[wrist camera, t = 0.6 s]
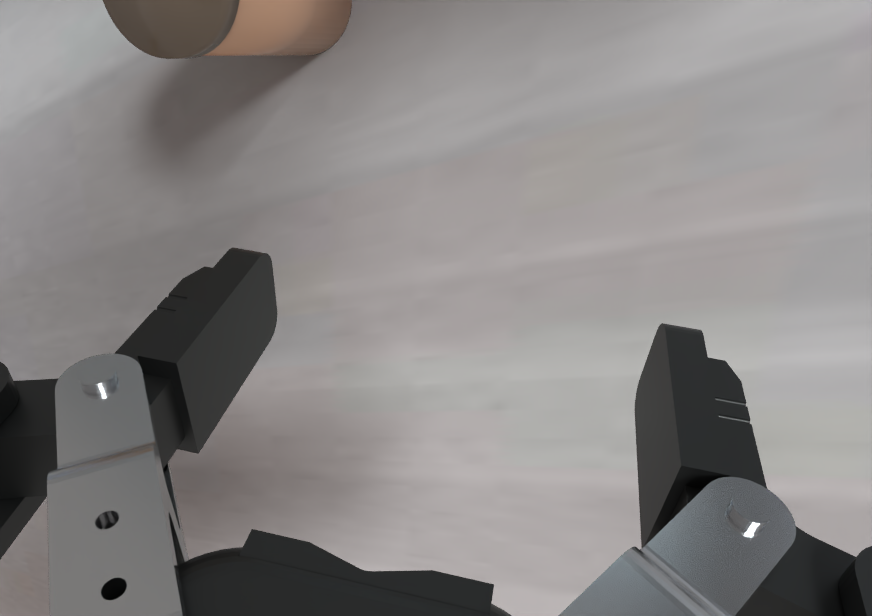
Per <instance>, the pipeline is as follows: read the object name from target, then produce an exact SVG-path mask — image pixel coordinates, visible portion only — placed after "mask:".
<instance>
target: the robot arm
mask: <svg viewBox="0 0 872 616" xmlns="http://www.w3.org/2000/svg"><path fill="white" fill-rule="evenodd" d="M276 322H277V306H276V296H275V287H274V277H273V268H272V261H271V258H270V256H269V255H268V254H267V253H261V252H255V251H250V250H244V249H238V248H231V249H229V250H228V251H227V253H226V254H225V255H224V256H223V257H222V258H221V259H220V261H219V262H218V263H217V264H216V265H215V266H214V268H210V267H203V268H201V269H199V270H198V271H196V272H194V273H192V274H190V275H189V276H187V277H185V278H183V279H182V280H181V281H180V282H179V283H178V285H177V286H176V287H175V288H174V289H173V290H172V291H171V292H170V293H169V297H166V298H165V299H164V300H163V301H162V302H161V303H160V304H159V305H158V306H157V310H154V311H153V312H152V313H151V314H150V315H149V316H148V317H147V319H146V320H145V321H144V322H143V323H142V324H141V325H140V326H139V327H138V328H137V329H136V331H135V332H134V333H133V334H132V335H131V336H130V337H129V338H128V339H127V340H126V342H125V343H124V344H123V345H122V346H121V347H120V348H119V349H118V350H117V351H116V352H115V354H102V355H96V356H93V357H89V358H87V359H84V360H82V361H80V362H78V363H76V364H74V365H73V366H71V367H70V368H68V369H67V370H66V371H65V372H64V373H63V374H62V375H61V376H60V378H59V379H45V380H25V381H13V379H12V377H11V375H10V373H9V370H8V368H7V367H6V366H5V365H4V364H3V363H1V362H0V559H1V558H2V556H3V555H4V554H5V552H6V551H7V549H8V548H9V547H10V545H11V544H12V543H13V541H14V540H15V539H16V537H17V536H18V535H19V533H20V532H21V531H22V529H23V528H24V527H25V525H26V524H27V523H28V521H29V520H30V518H31V517H32V516H33V514H34V513H35V512H36V510H37V509H38V508H39V506H40V505H41V504H42V502H43V501H44V500H45V498H46V497H47V509H48V559H49V609H50V616H511V615H510V614H508V613H507V612H505V611H504V610H502V609H500V608H498V607H497V606H495V605H493V604H491V601H492V594H493V587H494V584H489V583H485V582H481V581H476V580H472V579H468V578H463V577H459V576H454V575H450V574H446V573H441V572H437V571H433V570H430V571H375V572H372V571H364V570H362V569H359V568H357V567H355V566H353V565H352V564H350V563H348V562H346V561H344V560H342V559H340V558H338V557H336V556H334V555H333V554H331V553H329V552H327V551H325V550H323V549H321V548H319V547H317V546H315V545H314V544H312V543H310V542H306V541H301V540H297V539H293V538H288V537H284V536H280V535H275V534H271V533H266V532H262V531H258V530H253V529H252V530H251V532H250V534H249V536H248V538H247V540H246V542H245V544H244V546H243V548H230V549H223V550H218V551H214V552H210V553H206V554H203V555H201V556H198V557H195V558H192V559H190V560H189V558H188V554H187V549H186V545H185V540H184V535H183V530H182V525H181V520H180V515H179V510H178V505H177V500H176V495H175V490H174V484H173V479H172V474H171V469H170V466H169V462H168V461H169V460H170V459H171V457H172V456H173V454H174V453H175V451H176V450H177V449H180V450H184V451H189V452H194V453H199V452H200V450H201V449H202V447H203V445H204V444H205V442H206V441H207V439H208V438H209V436H210V435H211V433H212V431H213V430H214V428H215V427H216V425H217V424H218V422H219V420H220V419H221V417H222V416H223V414H224V413H225V411H226V409H227V408H228V406H229V405H230V403H231V402H232V400H233V398H234V397H235V395H236V394H237V392H238V391H239V389H240V387H241V386H242V384H243V383H244V381H245V380H246V378H247V377H248V375H249V373H250V372H251V370H252V369H253V367H254V366H255V364H256V362H257V361H258V359H259V358H260V356H261V355H262V353H263V351H264V350H265V348H266V347H267V345H268V344H269V342H270V340H271V339H272V336H273V334H274V331H275V327H276ZM635 425H636V444H637V464H638V484H639V504H640V524H641V544H642V549H640V550H639V549H638V548H637V547H632V548H630V549H629V550H627V551H626V552H625V553H624V554H623V555H621V556H620V557H619V558H618V559H617V560H616V561H615V562H614V563H613V564H612V565H611V566H610V567H609V568H608V569H607V570H606V571H605V572H604V573H603V574H602V575H601V576H599V577H598V578H597V579H596V580H595V581H594V582H593V583H592V584H591V585H590V586H589V587H588V588H587V589H586V590H585V591H584V592H583V593H582V594H581V595H580V596H579V597H578V598H577V599H575V600H574V601H573V602H572V603H571V604H570V605H569V606H568V607H567V608H566V609H565V610H564V611H563V612H562V613H561V614H560V615H559V616H872V546H871V547H868V548H865V549H864V550H863V551H861V552H860V553H859V555H858V556H857V557H855V556H853V555H850V554H848V553H846V552H844V551H842V550H840V549H838V548H835V547H833V546H831V545H829V544H827V543H825V542H823V541H820V540H818V539H816V538H814V537H812V536H810V535H809V534H807V533H805V532H804V531H802V530H801V529H799V528H798V527H796V526H795V521H794V519H793V517H792V514H791V513H790V511H789V510H788V508H787V507H786V505H785V504H784V503H783V502H782V501H781V500H780V499H779V498H778V497H777V496H776V495H775V494H773V493H772V492H771V491H770V490H768V489H767V487H766V483H765V479H764V475H763V470H762V466H761V462H760V458H759V454H758V450H757V445H756V441H755V437H754V433H753V429H752V425H751V424H750V416H749V412H748V408H747V407H746V400H745V396H744V392H743V387H742V383H741V381H740V379H739V378H738V377H737V375H736V374H735V373H734V372H733V370H732V369H731V368H730V366H729V365H728V364H727V362H726V361H723V360H718V359H712V358H708V357H707V352H706V347H705V341H704V336H703V333H702V331H701V330H697V329H692V328H686V327H680V326H674V325H669V324H663V323H662V324H661V325H660V326H659V327H658V330H657V332H656V335H655V338H654V340H653V343H652V346H651V349H650V352H649V355H648V357H647V360H646V363H645V366H644V369H643V371H642V374H641V377H640V380H639V384H638V388H637V393H636V400H635Z"/></svg>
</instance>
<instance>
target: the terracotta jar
mask: <svg viewBox="0 0 872 616" xmlns="http://www.w3.org/2000/svg"><path fill="white" fill-rule="evenodd" d="M103 2H104V4H105V7H106V9H107V11H108V13H109V15H110V17H111V19H112V20H113V22H114V24H115V25H116V27H117V28H118V29H119V31H120V32H121V33H122V34H123V35H124V36H125V38H126V39H127V40H128V41H129V42H131V43H132V44H133V45H134V46H135V47H137V48H138V49H140V50H142V51H143V52H145V53H147V54H149V55H152V56H155V57H159V58H166V59H179V58H196V57H200V56H242V55H315V54H319V53H321V52H324V51H326V50H327V49H329V48H330V47H332V46H333V45H334V44H335V43H336V42H337V41H338V40H339V38H340V37H341V36H342V34H343V32H344V31H345V29H346V26H347V24H348V21H349V17H350V14H351V7H352V0H103Z"/></svg>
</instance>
